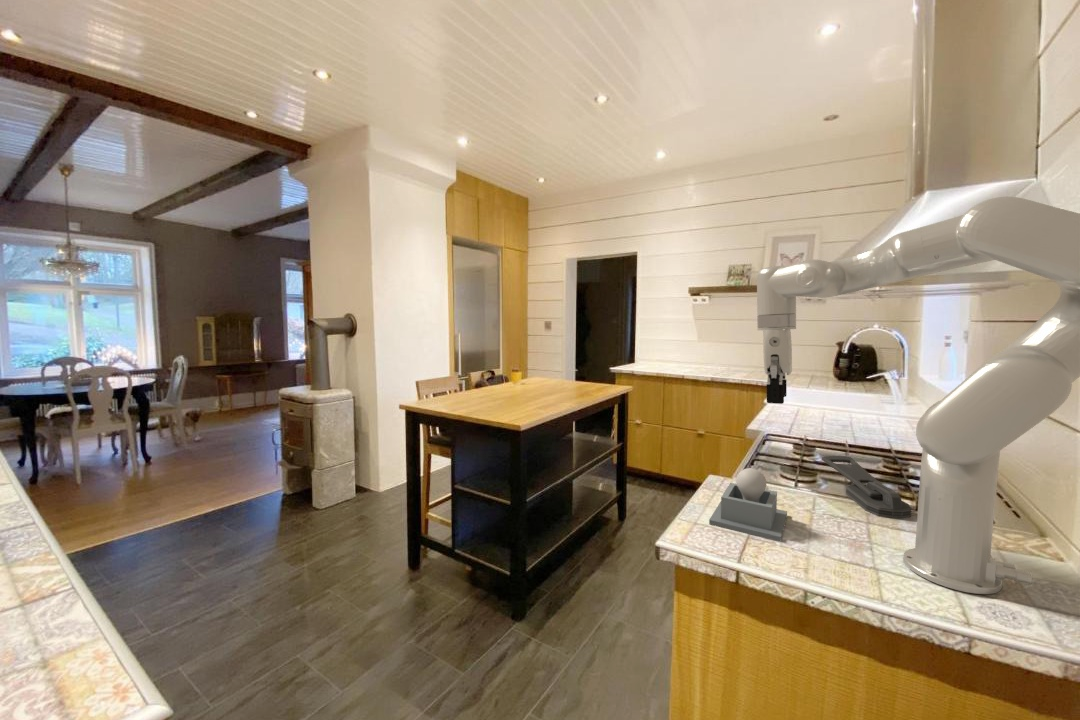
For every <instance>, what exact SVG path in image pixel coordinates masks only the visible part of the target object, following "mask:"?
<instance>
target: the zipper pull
mask: <svg viewBox="0 0 1080 720" xmlns="http://www.w3.org/2000/svg"><path fill="white" fill-rule="evenodd" d="M821 460H822V461H823V462H825V463H826V464H827V465H829V466H830V467H831V468H833V469H834V470H835V471H836V472H838V473H839V474H840V475H842V476H843V477H845V479H847V480H849V482H851V483H853V484H849V485H846V486H845V495H846V496H847V497H848V498H849V499H851V500H852V501H854V502H855V503H856V504H857V505H858V506H860V507H861V508H862V509H863V510H864V511H866V512H867V513H870V514H872V515H875V516H877V517H881V518H886V519H887V518H888V519H907V518H912V517H911V516H912V507H911V506H910V504H909V503H908V502H906V501H904V500H902V497H901V496H900V494H899V493H898V492H896V491H894V490H893V489H892V488H889V487H887V486H886V485H884V484H882V483H881V482H880V481H879V480H878V479H876V478H875V477H874V475H873V476H872V474H870V473H869V472H868V471H867V470H866V469H865V468H864V467H862V466H861V465H860V464H859V463H858V462H857V461H855V460H854V459H853V457H851V456H844V455H843V456H842V455H827V456H826V455H825V456H821Z"/></svg>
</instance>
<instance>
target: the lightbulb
mask: <svg viewBox="0 0 1080 720" xmlns="http://www.w3.org/2000/svg"><path fill="white" fill-rule="evenodd" d="M735 482H736V483H735V484H737V486H738V488H739V490H740V492H741V493H742V496H743V500H748V501H753V502H757V503H759V500H760V497H761V495H762V494H763V492H764V491H765V489H766V490H767V480H766V477H765V475H764V474H763V473H762V472H761V471H760V470H758V469H756V468H754V467H753V468H752V467H747V468H744V469H741V470H740V471H739V473H737V476H736V481H735Z"/></svg>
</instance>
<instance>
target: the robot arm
mask: <svg viewBox="0 0 1080 720" xmlns="http://www.w3.org/2000/svg"><path fill="white" fill-rule="evenodd" d="M991 261H997V262H1000V263H1002V264H1005V265H1008V266H1011V267H1013V268H1017V269H1019V270H1023V271H1025V272H1028V273H1031V274H1034V275H1037V276H1040V277H1043V278H1046V279H1048V280H1051V281H1054V283H1056V284H1057V285H1058V287H1059V289H1060V290H1059V291H1060V293H1059V297H1058V298H1057V301H1056V302H1055V304H1054V305H1053V306H1052V308H1050V309H1049V310H1048V311H1047V312H1046V313H1044V314H1043V316H1041V317H1040V318H1039V319H1038V320H1037V321H1035V323H1033V324H1032V326H1030V327H1028V329H1027V330H1025V331H1024V332H1023V333H1022V334H1021V335H1020V336H1019V337H1017V338H1016V339H1015V340H1014V341H1012V342H1011V343H1010V344H1009V345H1007V346H1006V347H1004V348H1003V349H1002V350H1001V351H999V352H997V353H994V354H993V355H992V356H990V357H989V358H987V359H986V360H985V361H984V362H983V363H982V364H981V365H980V366H979V367H978V368H977V369H976V370H975V371H973V372H972V373H971V374H970V375H969V376H968V377H967V378H966V379H965V380H962V382H961V383H960V384H958V385H957V386H956V387H955V388H954V389H952V390H951V391H949V393H948V394H946V395H945V396H944V397H943V398H941V399H940V400H938V401H937V402H935V403H933V404H932V405H931V406H929V408H927V409H926V411H925V412H924V413H923V414H922V415H921V417H920V418H919V420H918V421H917V425H916V429H915V435H916V438H917V439H916V440H917V442H918V444H919V446H920V447H921V448H922V453H921V461H920V471H919V473H920V474H919V475H920V476H919V487H918V488H919V489H918V501H917V502H918V503H917V517H916V531H915V533H916V534H915V546H914V548H909V549H908V550H905V551H904V552H903V555H902V556H903V563H904V564H905V566H907V568H908V569H909V570H910V571H912V572H914V573H915V574H917V575H918V576H920V577H922V578H923V579H926V580H928V581H929V582H933V584H937V585H940V586H942V587H945V588H948V589H951V590H956V591H959V592H964V593H968V594H974V595H975V594H976V595H992V594H996V593H997V594H998V593H999V592H1000V591H1002V587H1003V586H1002V585H1003V580H1004V579H1008V580H1012V581H1014V582H1018V583H1022V584H1026V585H1032V583H1033V575H1032V573H1031V571H1026V570H1022V569H1017V568H1016V565H1015V564H1014V563H1010V562H1005V561H1000V560H996V559H995V558H993V556H992V541H993V533H994V532H993V531H994V521H995V520H994V519H995V508H996V496H997V488H998V476H999V465H1000V455H1001V451H1002V450H1003V449H1005V448H1006V447H1008V446H1009V445H1011V443H1013V442H1015V441H1016V440H1017V439H1018V438H1020V437H1022V436H1023V435H1025V434H1026V433H1027V432H1029V431H1030V430H1031V429H1033V428H1035V427H1036V426H1037V425H1038V424H1040V423H1041V422H1042V421H1044V420H1046V419H1047V418H1048V417H1049V416H1050V415H1051V416H1052V414H1053V413H1054V412H1055V411H1057V410H1058V409H1059V408H1060V407H1062V405H1063V404H1064V403H1065V402H1066V401H1067V399H1068V398H1069V396H1070V395H1071V392H1072V387H1073V383H1074V382H1075V381H1076V380H1077V379H1078V378H1080V213H1079V212H1075V211H1072V210H1071V211H1070V210H1067V209H1064V208H1060V207H1056V206H1053V205H1048V204H1045V203H1042V202H1039V201H1034V200H1029V199H1026V198H1024V197H1023V198H1022V197H1019V196H1018V197H1016V196H997V197H992V198H989V199H987V200H983V201H981V202H979V203H977V204H975V205H974V206H972V207H971V208H969V209H968V210H967V211H966V212H965V213H964V214H961V215H958V216H954V217H951V218H949V219H945V220H941V221H938V222H934V223H931V224H928V225H923V226H921V227H917V228H914V229H910V230H907V231H903V232H899V233H897V234H895V235H893V236H891V237H890V238H888V239H887V240H885V241H884V242H883V243H882V244H879V245H878V246H876V247H874V248H872V249H870V250H867V251H865V252H862V253H857V254H856V255H851V256H849V257H845V258H841V259H837V260H836V259H835V260H833V261H825V260H821V259H807V260H804V261H799V262H796V263H792V264H788V265H787V264H786V265H776V266H775V265H774V266H767V267H764V268H761V269H759V270H758V272H757V274H756V275H757V276H756V307H757V308H756V312H757V314H756V315H757V323H756V324H757V326H756V327H757V329H756V330H757V331H763V332H762V333H763V334H762V337H763V340H762V341H763V344H762V345H763V351H762V352H763V366H764V367H763V368H764V374H766V375H767V379H766V381H767V384H766V403H767V404H777V405H782V404H784V403H785V397H787V379H786V376H790V375H791V373H792V372H793V365H792V364H793V359H792V358H793V356H792V355H793V354H792V353H793V352H792V349H793V348H792V345H793V343H792V331H791V330H797V297H800V298H801V297H803V298H804V297H805V298H817V299H818V298H821V299H823V298H826V299H827V298H832V297H838V296H841V295H846V294H849V293H855V292H860V291H864V290H868V289H872V288H876V287H880V286H881V287H882V286H884V285H888V284H896V283H900V282H904V281H907V280H912V279H915V278H919V277H924V276H930V275H932V274H935V273H940V272H946V271H950V270H956V269H960V268H963V267H968V266H969V267H970V266H974V265H977V264H981V263H982V264H984V263H986V262H991Z"/></svg>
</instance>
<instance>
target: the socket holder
mask: <svg viewBox="0 0 1080 720" xmlns="http://www.w3.org/2000/svg"><path fill="white" fill-rule="evenodd" d="M777 499H778V491H775V490H771V489H770V490H769V489H767V488H766V489H765V491H764V492H763V494H762V495H761V497H760V500H759V503H757V502H753V501H748V500H743V496H742V493H741V492H740V490H739V488H738V486H737V483H735V482H734V483H733V482H730V483H729V484H728V486H727V487H726V489H725V490H724V492H723V494H722V495H721V496H720V502H719V503H718V505H717V507H716V508H715V510H714V512H713V513H712V515H711V517H710V518H709V520H708V523H709V525H711V524H713V525H712V526H715V525H716V527H718V528H719V527H720V528H724V529H728V530H731V531H732V530H733V531H736V532H739V533H744V534H748V535H753V536H756V537H760V538H765V539H769V540H772V541H777V542H781V541H782V537H783V534H784V530H783V529H785V526H784V525H786V522H785V521H787V518H788V511H787V510H782V509H778V508H777V505H778V503H777V502H778V500H777ZM786 517H787V518H786Z"/></svg>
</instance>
